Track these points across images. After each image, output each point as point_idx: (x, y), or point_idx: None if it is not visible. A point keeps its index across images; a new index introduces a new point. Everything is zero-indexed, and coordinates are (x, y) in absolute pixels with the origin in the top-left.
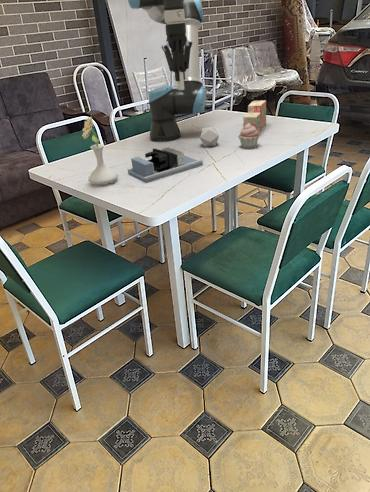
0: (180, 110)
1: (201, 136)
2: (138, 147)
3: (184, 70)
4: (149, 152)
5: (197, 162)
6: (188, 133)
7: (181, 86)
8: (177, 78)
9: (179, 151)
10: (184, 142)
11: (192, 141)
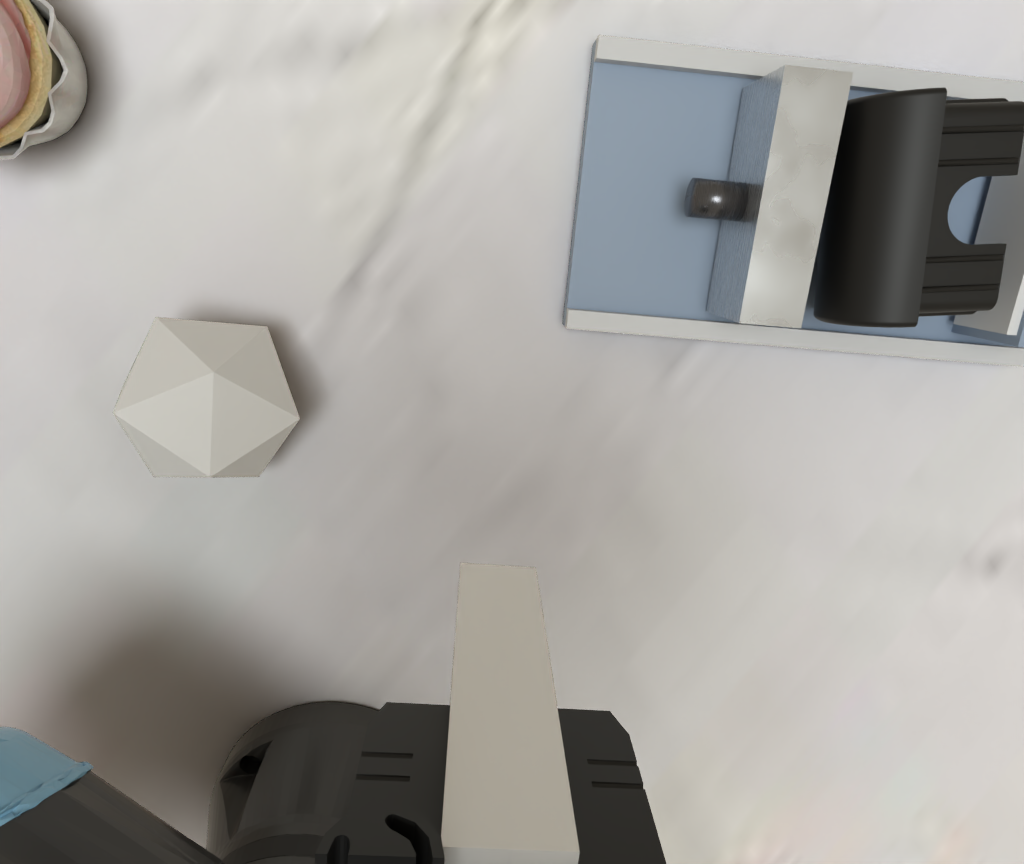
0: (191, 846)
1: (289, 412)
2: None
3: (406, 842)
4: (976, 285)
5: (648, 41)
6: (159, 745)
7: (531, 601)
8: (619, 764)
9: (774, 134)
10: (319, 599)
11: (264, 571)
